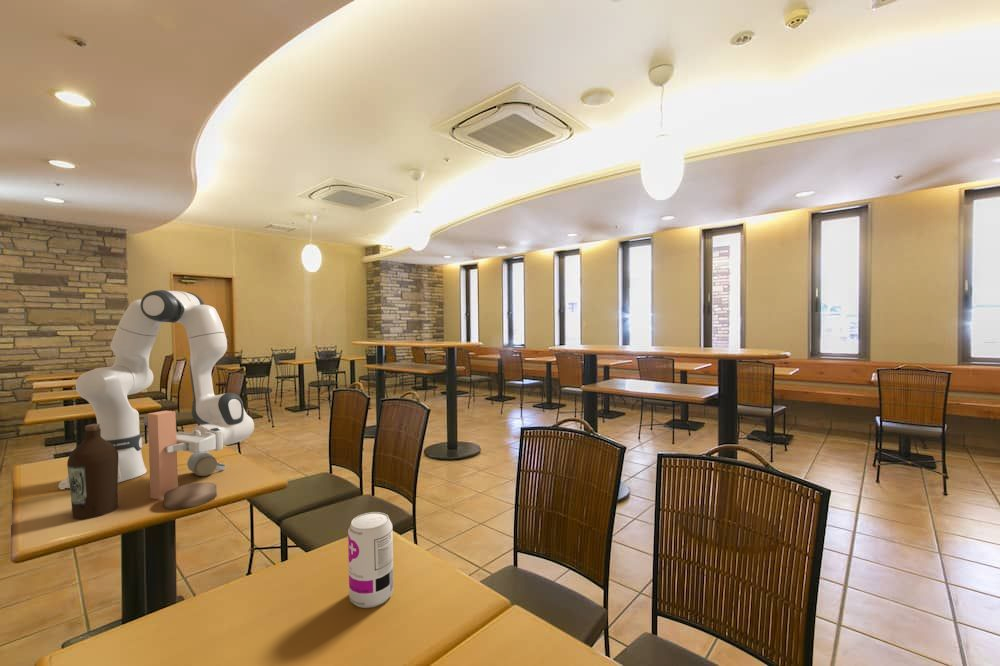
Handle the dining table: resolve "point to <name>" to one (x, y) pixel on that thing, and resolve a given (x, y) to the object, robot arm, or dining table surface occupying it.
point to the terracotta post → (162, 453)
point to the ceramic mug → (203, 464)
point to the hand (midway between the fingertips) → (159, 448)
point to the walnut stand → (190, 495)
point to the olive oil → (93, 475)
